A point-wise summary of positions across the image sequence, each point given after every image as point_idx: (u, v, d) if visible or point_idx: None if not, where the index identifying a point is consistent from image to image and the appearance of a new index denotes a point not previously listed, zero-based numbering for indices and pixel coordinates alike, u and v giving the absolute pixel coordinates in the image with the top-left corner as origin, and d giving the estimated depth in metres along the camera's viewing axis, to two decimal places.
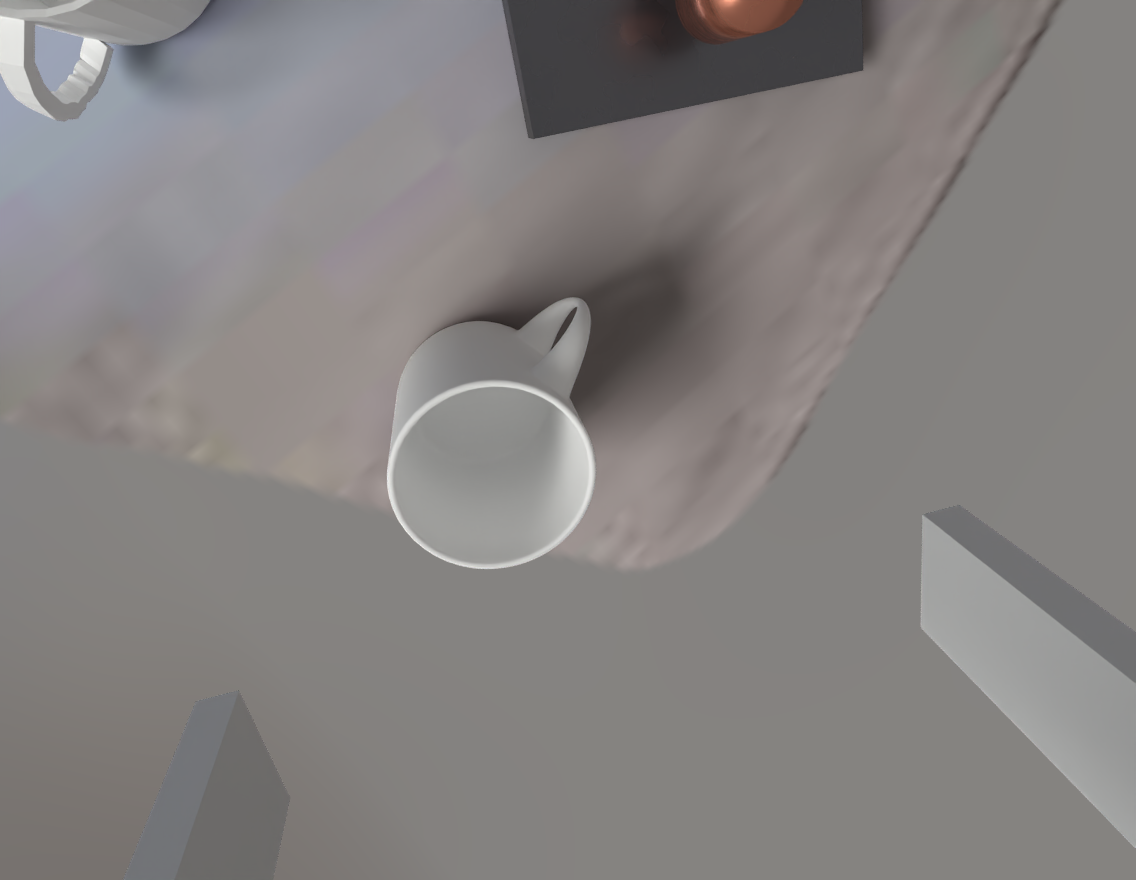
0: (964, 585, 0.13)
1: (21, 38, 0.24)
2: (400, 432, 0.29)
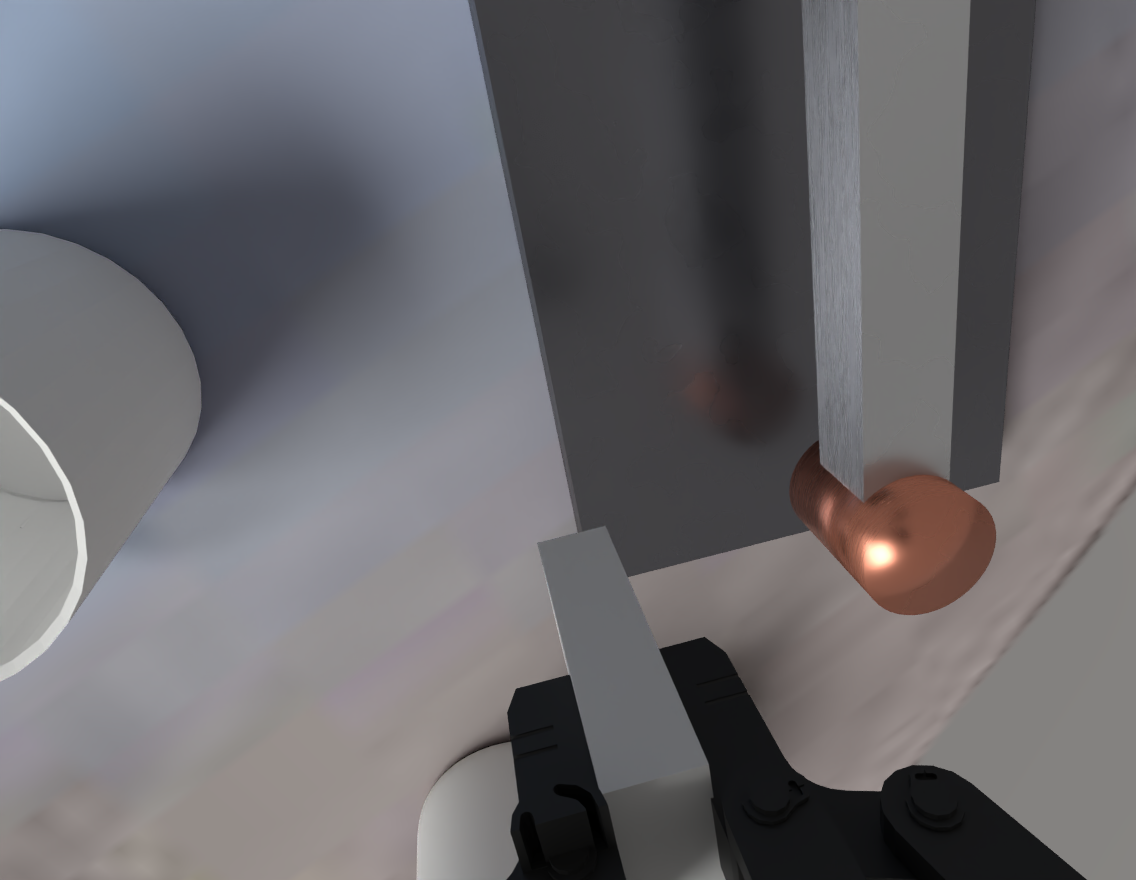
0: None
1: None
2: None
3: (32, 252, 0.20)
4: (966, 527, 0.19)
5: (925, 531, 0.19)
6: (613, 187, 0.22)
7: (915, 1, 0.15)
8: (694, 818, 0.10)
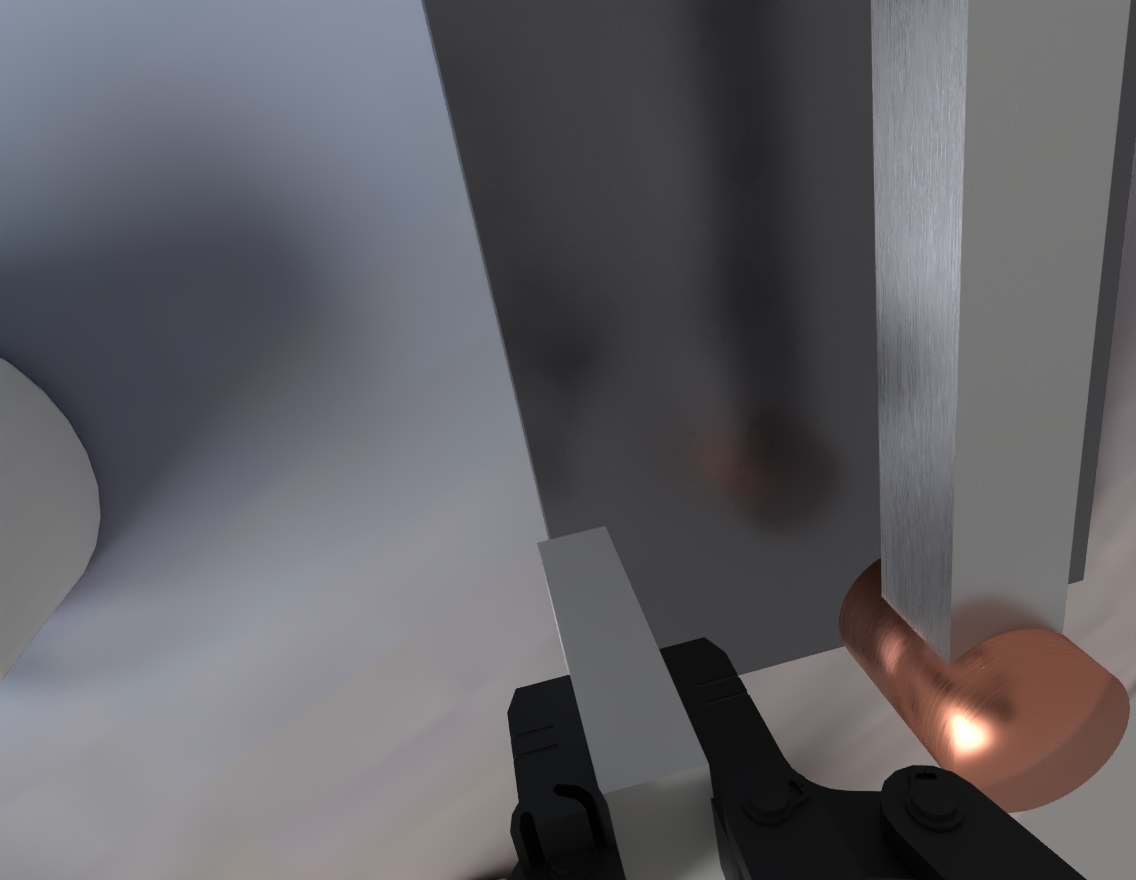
0: None
1: None
2: None
3: None
4: (1091, 705, 0.14)
5: (1037, 713, 0.14)
6: (611, 242, 0.17)
7: None
8: (694, 818, 0.10)
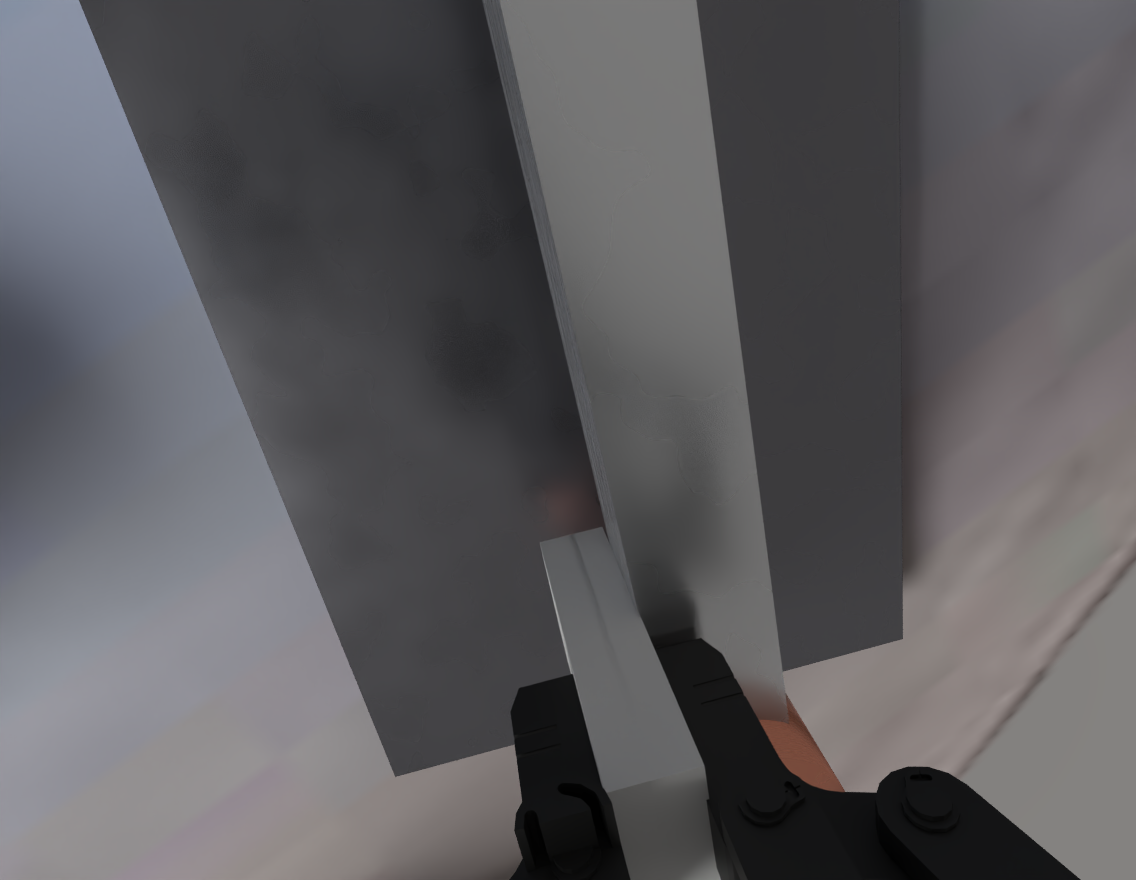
0: None
1: None
2: None
3: None
4: None
5: None
6: (349, 319, 0.17)
7: (622, 121, 0.10)
8: (690, 819, 0.10)
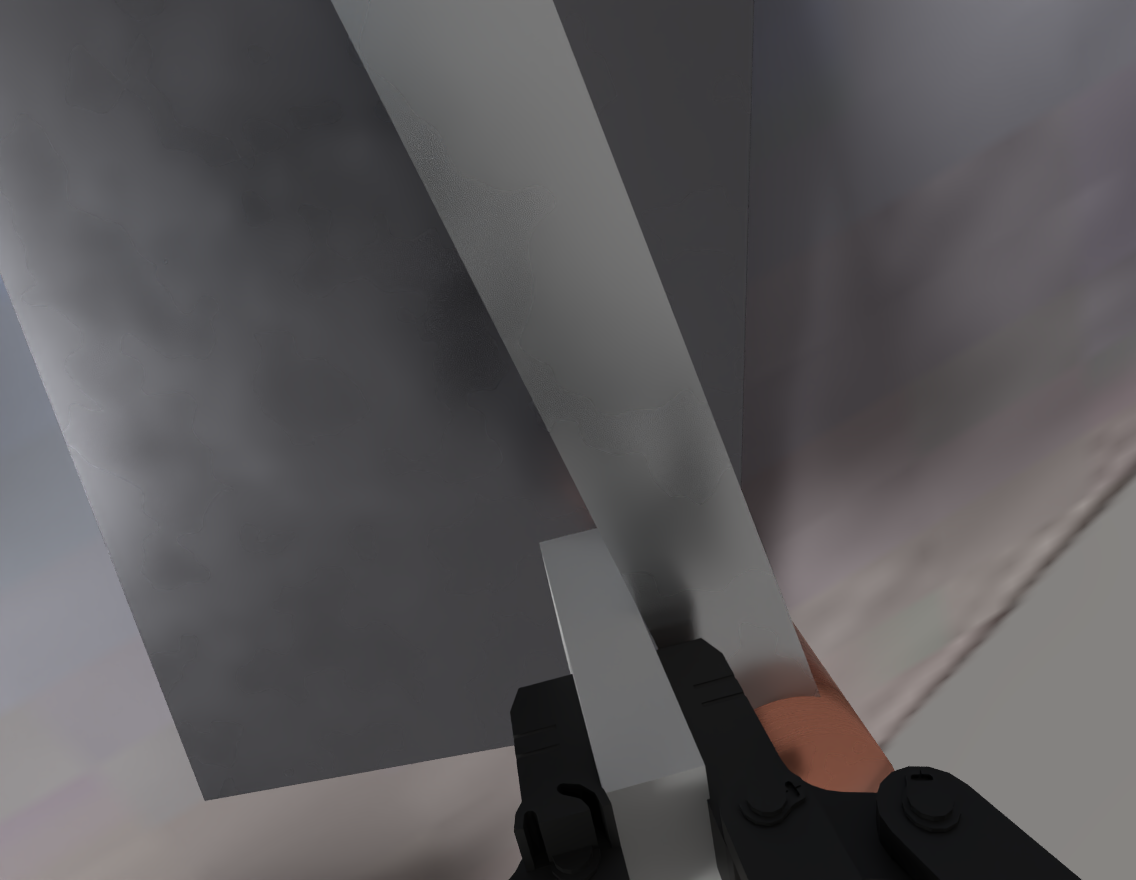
0: None
1: None
2: None
3: None
4: (846, 770, 0.14)
5: None
6: (172, 340, 0.16)
7: (516, 160, 0.10)
8: (690, 819, 0.10)
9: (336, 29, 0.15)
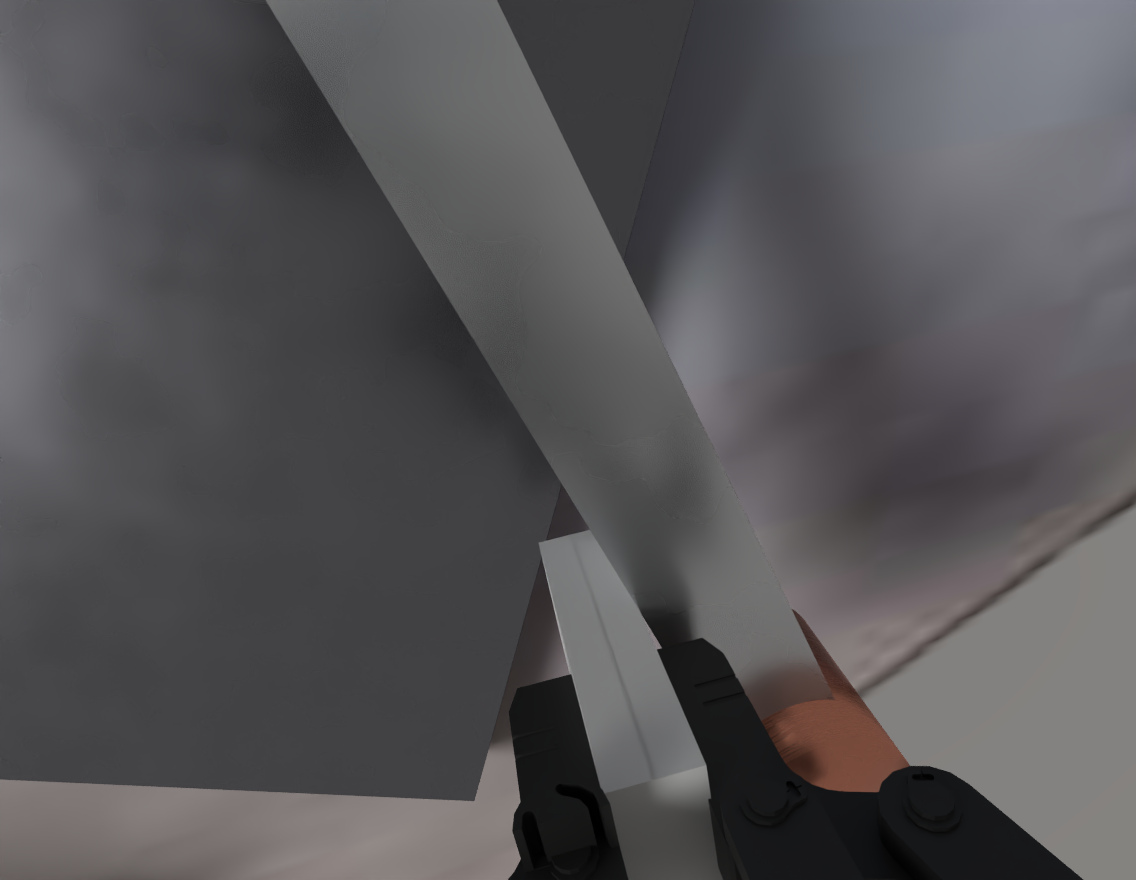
0: None
1: None
2: None
3: None
4: (863, 771, 0.14)
5: None
6: None
7: (501, 212, 0.10)
8: (692, 819, 0.10)
9: (243, 62, 0.15)
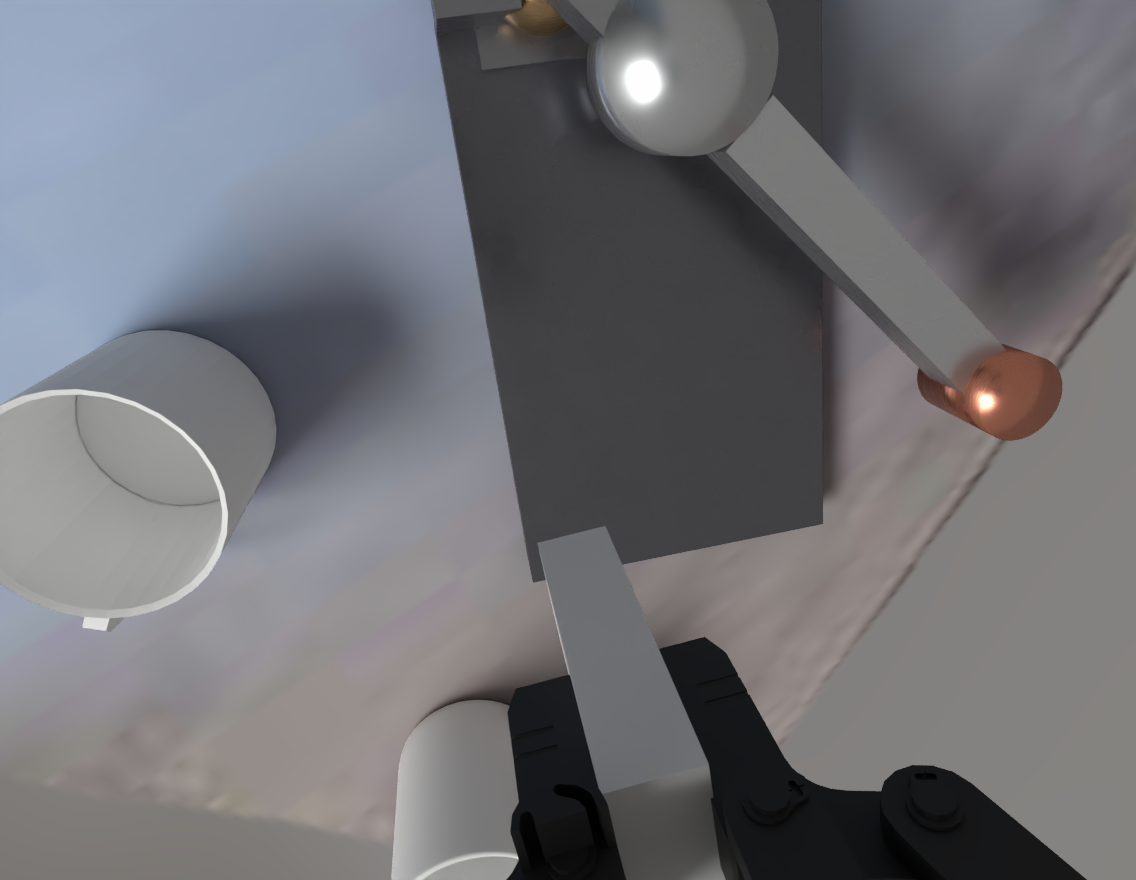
0: None
1: (108, 618, 0.29)
2: None
3: (188, 349, 0.32)
4: (1031, 372, 0.30)
5: (1007, 390, 0.30)
6: (551, 321, 0.34)
7: (811, 188, 0.27)
8: (694, 818, 0.10)
9: (637, 174, 0.33)
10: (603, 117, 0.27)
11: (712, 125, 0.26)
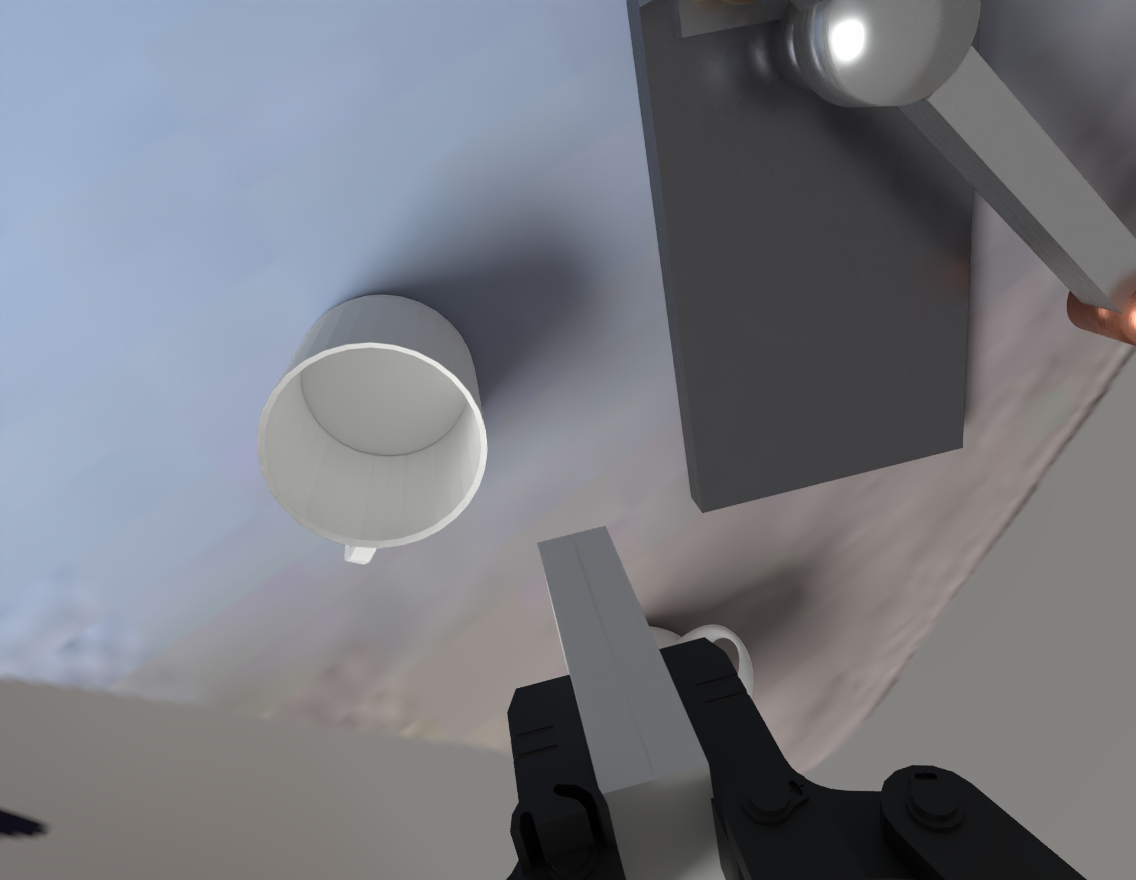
0: None
1: (374, 549, 0.33)
2: None
3: (413, 309, 0.35)
4: None
5: None
6: (728, 268, 0.37)
7: (1000, 130, 0.30)
8: (694, 818, 0.10)
9: (811, 128, 0.35)
10: (809, 75, 0.30)
11: (919, 76, 0.28)
